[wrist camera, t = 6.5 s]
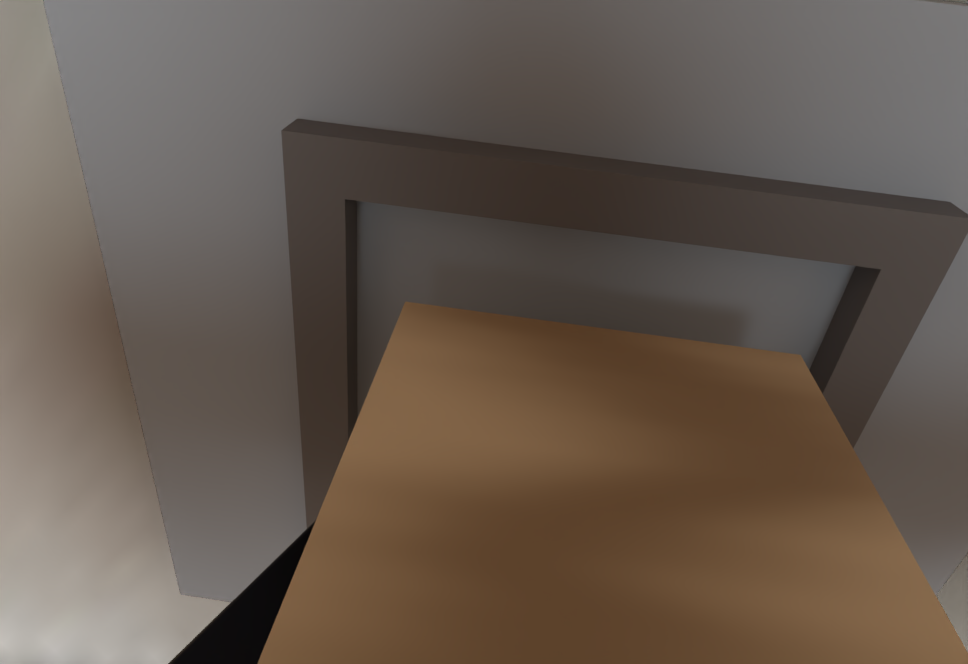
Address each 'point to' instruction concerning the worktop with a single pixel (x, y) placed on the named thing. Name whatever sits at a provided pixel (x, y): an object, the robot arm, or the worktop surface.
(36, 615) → the worktop surface
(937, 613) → the oak cube
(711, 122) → the grey flat square plate
